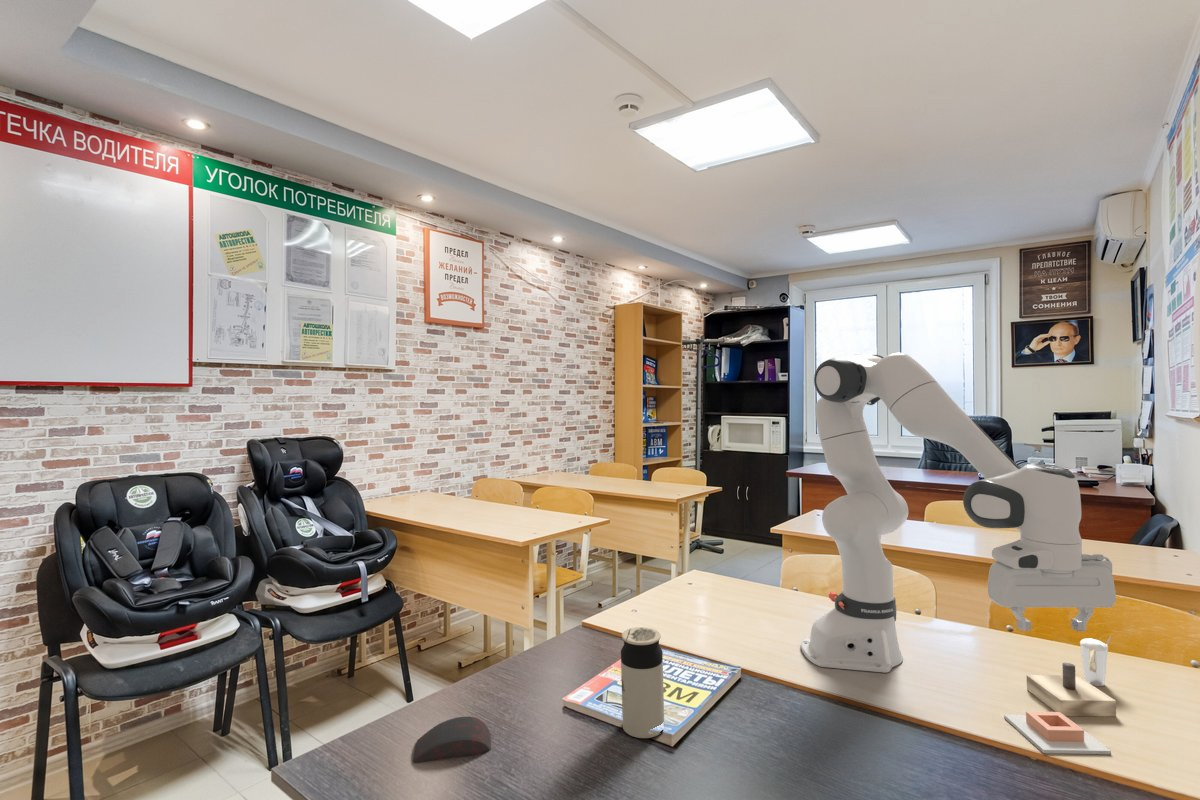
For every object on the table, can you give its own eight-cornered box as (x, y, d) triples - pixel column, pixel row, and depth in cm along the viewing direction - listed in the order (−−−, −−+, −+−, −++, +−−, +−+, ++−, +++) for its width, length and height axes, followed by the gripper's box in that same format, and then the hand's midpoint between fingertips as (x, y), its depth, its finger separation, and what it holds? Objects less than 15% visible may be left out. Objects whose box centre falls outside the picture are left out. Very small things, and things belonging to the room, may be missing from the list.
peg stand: (1061, 715, 112) (1060, 676, 112) (1026, 689, 122) (1026, 653, 122) (1116, 716, 112) (1115, 677, 112) (1077, 689, 122) (1076, 653, 122)
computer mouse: (491, 756, 105) (490, 734, 105) (412, 768, 103) (411, 745, 103) (490, 731, 113) (489, 710, 113) (417, 741, 110) (416, 720, 110)
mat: (1043, 753, 101) (1043, 749, 101) (1004, 717, 112) (1004, 714, 112) (1110, 754, 100) (1110, 750, 100) (1064, 718, 111) (1064, 715, 111)
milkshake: (1118, 689, 121) (1117, 641, 121) (1088, 687, 123) (1088, 639, 122) (1104, 678, 126) (1103, 632, 126) (1075, 676, 127) (1075, 631, 127)
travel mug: (668, 719, 115) (666, 628, 114) (659, 743, 107) (656, 645, 107) (629, 713, 117) (627, 624, 117) (617, 736, 110) (615, 640, 110)
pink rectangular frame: (1048, 741, 104) (1048, 730, 104) (1026, 722, 110) (1025, 711, 110) (1084, 741, 103) (1083, 730, 103) (1059, 722, 109) (1059, 712, 109)
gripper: (1097, 549, 109) (1098, 623, 109) (982, 549, 110) (983, 622, 111) (1125, 559, 102) (1126, 637, 103) (1003, 559, 104) (1003, 636, 104)
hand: (1051, 629), depth 107 cm, fingers open, 8 cm apart
